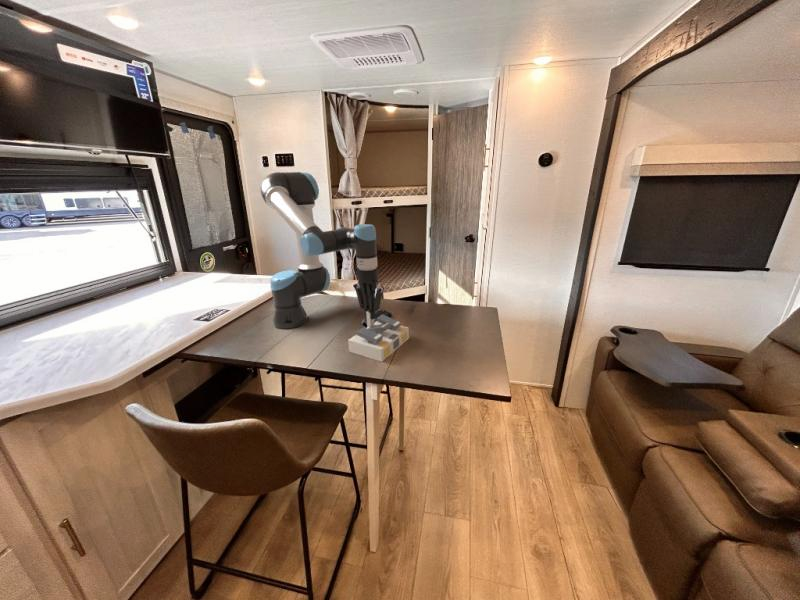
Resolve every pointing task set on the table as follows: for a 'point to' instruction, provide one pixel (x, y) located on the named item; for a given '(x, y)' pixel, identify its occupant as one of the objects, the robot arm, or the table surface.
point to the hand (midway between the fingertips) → (370, 325)
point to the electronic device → (377, 314)
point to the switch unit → (379, 343)
